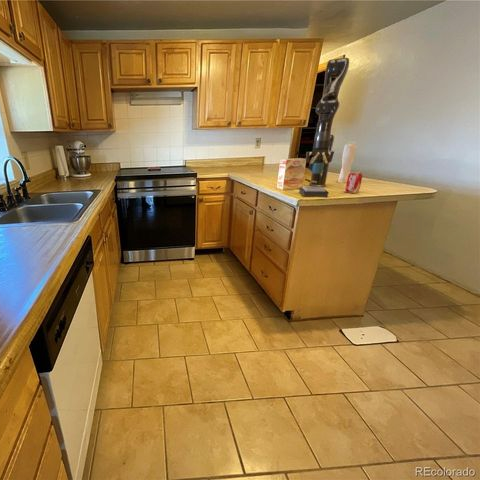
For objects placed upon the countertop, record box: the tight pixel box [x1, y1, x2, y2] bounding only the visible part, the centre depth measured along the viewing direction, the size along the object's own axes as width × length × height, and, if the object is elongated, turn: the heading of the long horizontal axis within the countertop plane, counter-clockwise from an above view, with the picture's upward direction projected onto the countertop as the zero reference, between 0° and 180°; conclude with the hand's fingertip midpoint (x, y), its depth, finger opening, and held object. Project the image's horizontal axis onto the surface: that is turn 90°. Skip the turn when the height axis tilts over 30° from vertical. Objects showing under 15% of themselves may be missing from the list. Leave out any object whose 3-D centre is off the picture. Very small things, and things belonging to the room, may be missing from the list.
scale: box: [299, 187, 330, 198], centre depth 160 cm, size 14×13×3 cm
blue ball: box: [310, 161, 324, 174], centre depth 155 cm, size 6×6×6 cm
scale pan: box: [302, 185, 327, 191], centre depth 159 cm, size 10×10×2 cm
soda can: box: [344, 171, 363, 194], centre depth 159 cm, size 7×7×12 cm
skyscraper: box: [337, 141, 358, 184], centre depth 188 cm, size 8×8×28 cm
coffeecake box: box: [276, 157, 307, 191], centre depth 177 cm, size 15×7×20 cm, turn 101°
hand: (316, 170), depth 155 cm, fingers closed on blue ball, 6 cm apart
